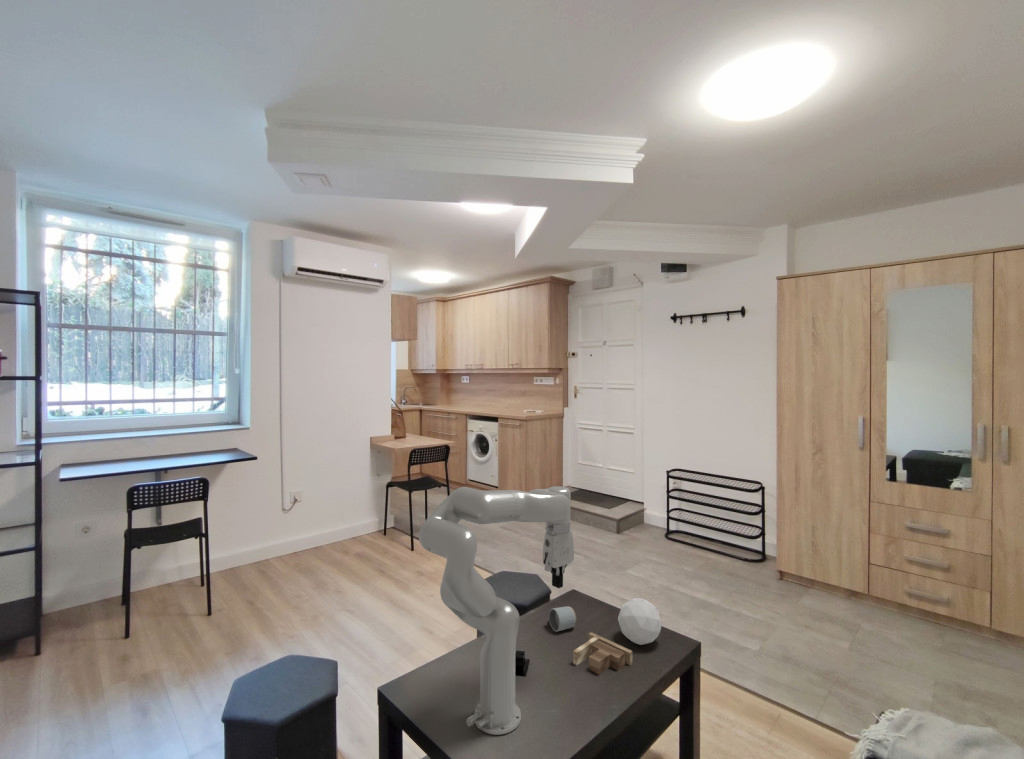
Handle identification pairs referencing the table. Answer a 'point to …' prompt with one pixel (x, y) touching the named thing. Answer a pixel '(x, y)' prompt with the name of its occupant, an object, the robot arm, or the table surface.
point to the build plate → (521, 664)
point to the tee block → (605, 658)
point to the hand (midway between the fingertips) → (557, 586)
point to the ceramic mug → (562, 618)
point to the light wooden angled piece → (586, 649)
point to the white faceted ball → (640, 621)
